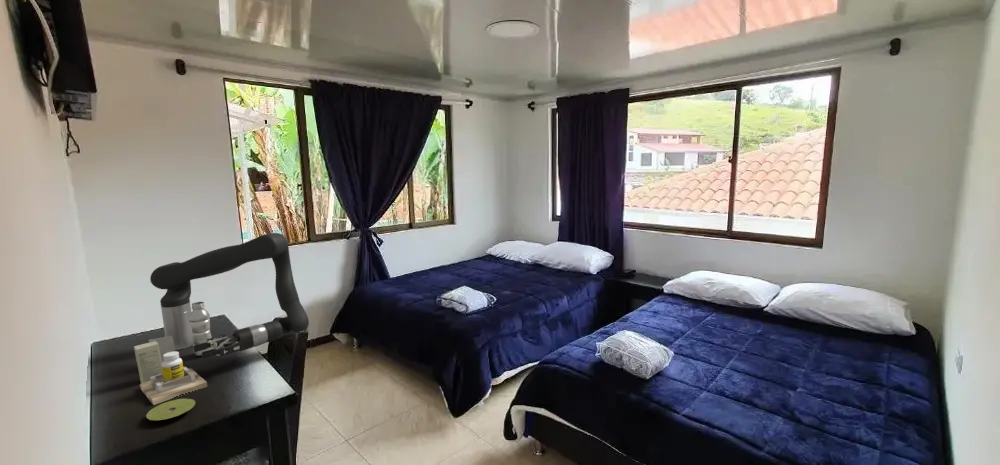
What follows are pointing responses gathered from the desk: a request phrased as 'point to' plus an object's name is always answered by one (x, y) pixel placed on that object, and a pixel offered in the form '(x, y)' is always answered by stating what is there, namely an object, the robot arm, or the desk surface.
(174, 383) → the socket board
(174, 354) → the supplement bottle
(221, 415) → the desk surface
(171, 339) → the tea bag
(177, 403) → the green disc with hole
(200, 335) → the plastic bottle
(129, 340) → the desk surface
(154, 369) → the skincare box
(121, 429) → the desk surface
